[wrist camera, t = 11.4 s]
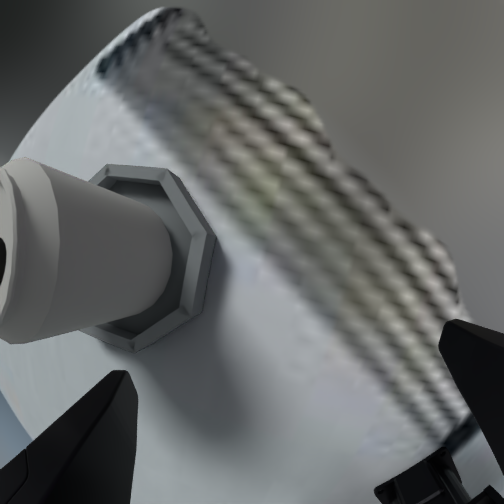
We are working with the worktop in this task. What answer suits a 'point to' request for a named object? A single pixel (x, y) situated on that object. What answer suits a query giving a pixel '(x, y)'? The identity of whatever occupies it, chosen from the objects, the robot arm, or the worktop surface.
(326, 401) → the worktop surface
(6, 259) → the can
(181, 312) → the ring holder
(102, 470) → the robot arm
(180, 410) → the worktop surface
